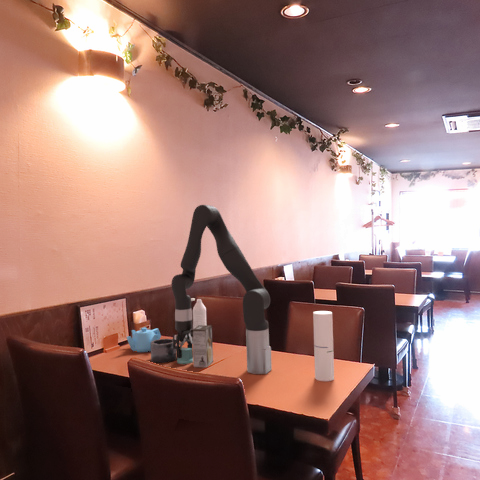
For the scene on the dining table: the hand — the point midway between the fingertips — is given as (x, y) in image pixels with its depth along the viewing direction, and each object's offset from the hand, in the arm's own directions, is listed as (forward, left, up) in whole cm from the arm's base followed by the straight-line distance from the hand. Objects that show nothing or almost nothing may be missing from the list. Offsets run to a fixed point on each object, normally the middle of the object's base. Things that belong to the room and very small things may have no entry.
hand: (184, 355), depth 187 cm
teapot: (+31, -11, -3) cm, 34 cm away
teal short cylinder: (0, 0, -3) cm, 3 cm away
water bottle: (+4, -19, -3) cm, 20 cm away
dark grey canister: (+11, 0, -3) cm, 12 cm away
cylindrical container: (-63, -1, -3) cm, 63 cm away
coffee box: (-10, 0, -3) cm, 10 cm away
